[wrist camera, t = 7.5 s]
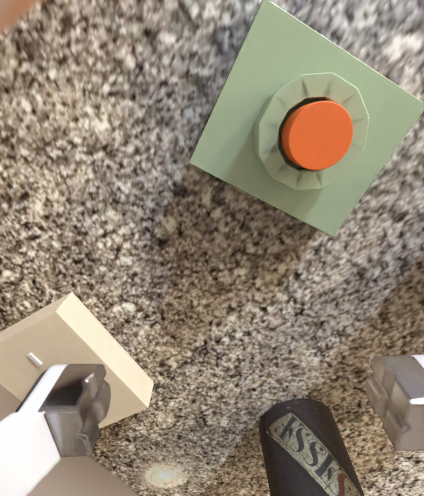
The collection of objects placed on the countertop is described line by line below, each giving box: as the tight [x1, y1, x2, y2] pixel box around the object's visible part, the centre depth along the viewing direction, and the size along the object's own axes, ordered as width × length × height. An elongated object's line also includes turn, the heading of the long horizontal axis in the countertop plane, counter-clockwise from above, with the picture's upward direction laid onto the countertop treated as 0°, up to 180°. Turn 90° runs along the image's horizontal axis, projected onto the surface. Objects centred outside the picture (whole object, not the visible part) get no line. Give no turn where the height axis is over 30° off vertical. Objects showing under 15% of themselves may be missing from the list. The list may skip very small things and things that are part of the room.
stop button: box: [281, 101, 353, 170], centre depth 17 cm, size 4×4×2 cm
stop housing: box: [189, 0, 424, 237], centre depth 19 cm, size 12×10×4 cm
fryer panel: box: [0, 292, 154, 429], centre depth 28 cm, size 13×10×3 cm
